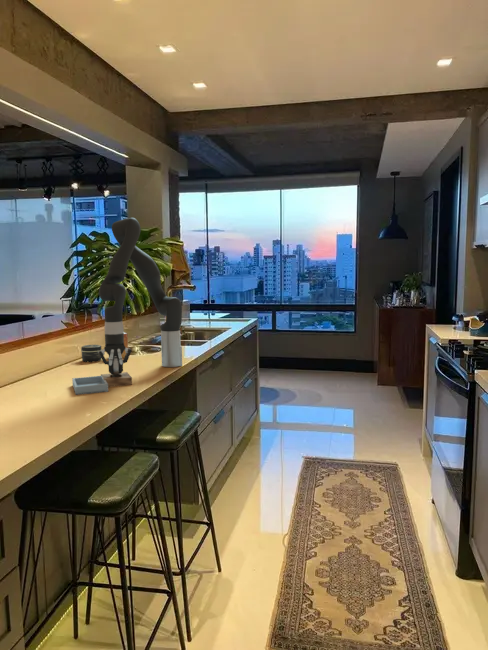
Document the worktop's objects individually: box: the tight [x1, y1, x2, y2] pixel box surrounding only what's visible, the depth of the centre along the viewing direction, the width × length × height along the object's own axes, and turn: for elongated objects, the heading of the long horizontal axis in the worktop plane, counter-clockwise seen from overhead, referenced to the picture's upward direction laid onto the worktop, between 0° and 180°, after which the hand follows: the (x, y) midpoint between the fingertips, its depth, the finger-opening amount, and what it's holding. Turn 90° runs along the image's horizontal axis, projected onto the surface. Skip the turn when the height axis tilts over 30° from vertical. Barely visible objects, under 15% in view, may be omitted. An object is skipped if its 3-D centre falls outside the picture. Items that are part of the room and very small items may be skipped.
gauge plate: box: [100, 371, 133, 388], centre depth 208 cm, size 11×11×3 cm
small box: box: [121, 332, 129, 359], centre depth 264 cm, size 8×6×13 cm
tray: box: [72, 375, 109, 396], centre depth 199 cm, size 12×16×3 cm
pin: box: [112, 356, 120, 377], centre depth 208 cm, size 3×3×10 cm
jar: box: [80, 344, 103, 363], centre depth 257 cm, size 10×10×8 cm
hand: (115, 373), depth 208 cm, fingers closed on pin, 3 cm apart
